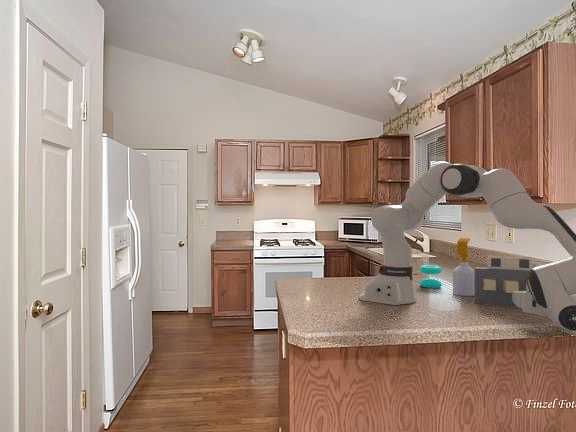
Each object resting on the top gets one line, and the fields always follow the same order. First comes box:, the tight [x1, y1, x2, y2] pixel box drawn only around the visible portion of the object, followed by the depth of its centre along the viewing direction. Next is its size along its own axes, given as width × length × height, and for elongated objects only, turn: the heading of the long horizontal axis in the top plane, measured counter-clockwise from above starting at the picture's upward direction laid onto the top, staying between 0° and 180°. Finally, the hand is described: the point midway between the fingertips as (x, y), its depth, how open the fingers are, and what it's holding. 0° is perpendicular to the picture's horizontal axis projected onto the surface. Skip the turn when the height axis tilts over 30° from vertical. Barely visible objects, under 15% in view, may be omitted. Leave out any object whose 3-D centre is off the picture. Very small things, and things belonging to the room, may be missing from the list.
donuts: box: [419, 264, 443, 289], centre depth 177 cm, size 10×10×10 cm
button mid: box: [503, 279, 519, 293], centre depth 139 cm, size 4×7×4 cm, turn 157°
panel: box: [473, 255, 534, 308], centre depth 141 cm, size 24×3×19 cm, turn 68°
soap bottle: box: [452, 237, 475, 297], centre depth 160 cm, size 9×9×25 cm
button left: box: [483, 278, 496, 290], centre depth 144 cm, size 4×7×4 cm, turn 157°
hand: (543, 294), depth 122 cm, fingers closed
